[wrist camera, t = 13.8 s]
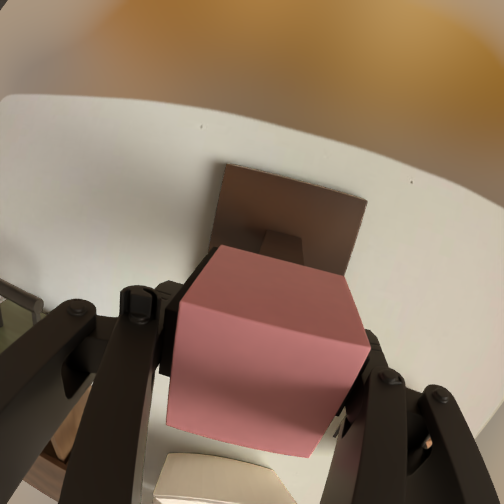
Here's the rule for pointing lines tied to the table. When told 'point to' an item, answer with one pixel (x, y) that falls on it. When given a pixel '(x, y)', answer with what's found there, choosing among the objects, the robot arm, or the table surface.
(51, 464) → the cabinet
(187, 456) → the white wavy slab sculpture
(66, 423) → the drawer
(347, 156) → the table surface
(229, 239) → the stand
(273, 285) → the block
